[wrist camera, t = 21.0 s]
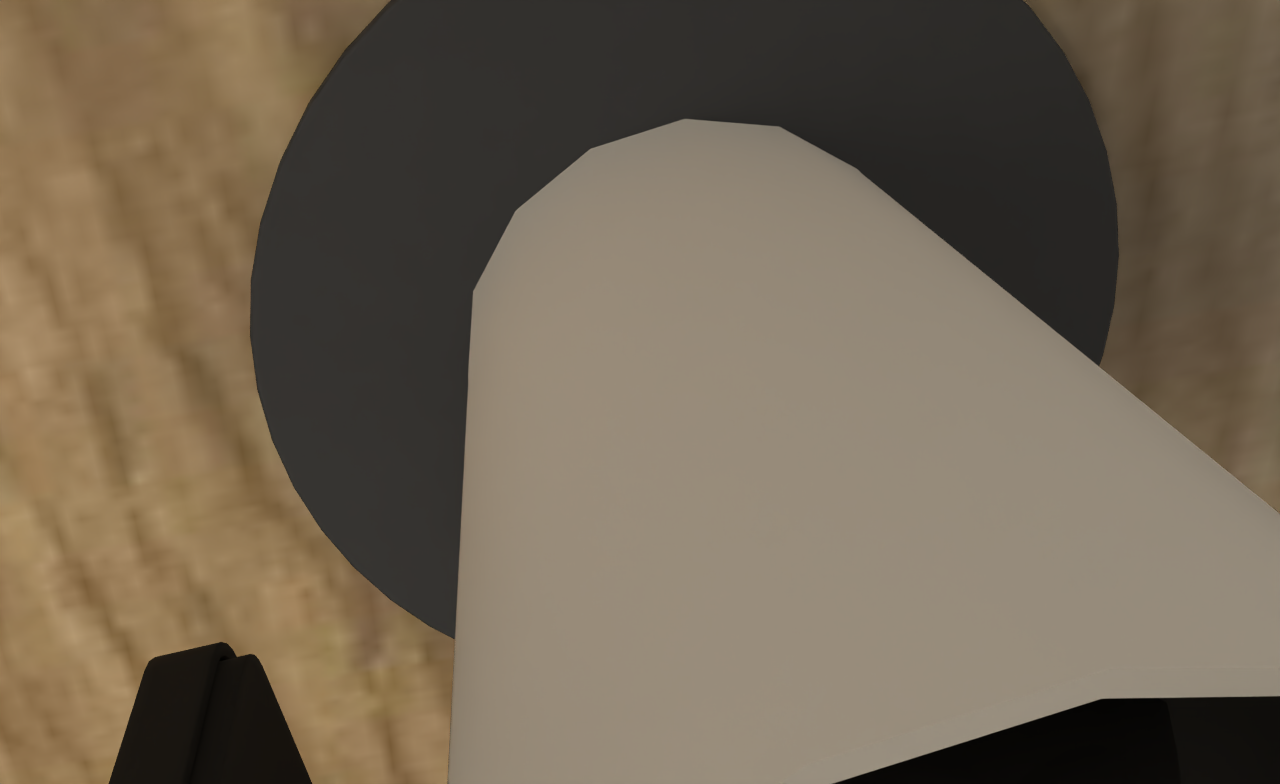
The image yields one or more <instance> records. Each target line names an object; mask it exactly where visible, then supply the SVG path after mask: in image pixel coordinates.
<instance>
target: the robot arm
mask: <svg viewBox="0 0 1280 784" xmlns="http://www.w3.org/2000/svg"><path fill="white" fill-rule="evenodd" d="M109 784H312V782H311V780H310V777H309V775H308V773H307V770H306V768H305V765H304V763H303V761H302V758H301V756H300V754H299V751H298V749H297V747H296V744H295V742H294V740H293V737H292V735H291V732H290V730H289V728H288V725H287V723H286V721H285V718H284V716H283V714H282V711H281V709H280V706H279V704H278V702H277V699H276V697H275V695H274V692H273V690H272V688H271V685H270V683H269V680H268V678H267V676H266V673H265V671H264V669H263V666H262V665H261V663H260V661H259V659H258V658H257V657H256V656H255V655H253V654H249V655H244V656H240V657H236V655H235V653H234V651H233V649H232V648H231V647H230V646H229V645H228V644H227V643H223V642H220V643H215V644H211V645H207V646H202V647H198V648H193V649H189V650H185V651H180V652H176V653H171V654H167V655H163V656H158V657H155V658H153V659H152V660H150V661H149V663H148V665H147V667H146V669H145V671H144V674H143V677H142V681H141V684H140V687H139V690H138V693H137V696H136V699H135V703H134V706H133V709H132V712H131V715H130V718H129V722H128V725H127V728H126V731H125V734H124V737H123V740H122V744H121V747H120V750H119V753H118V756H117V759H116V763H115V766H114V769H113V772H112V775H111V778H110V781H109Z"/></svg>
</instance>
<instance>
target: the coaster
mask: <svg viewBox="0 0 1280 784" xmlns="http://www.w3.org/2000/svg"><path fill="white" fill-rule="evenodd" d="M682 119H693V120H705V121H717V122H730V123H742V124H754V125H766V126H779V127H781V128H783V129H785V130H787V131H788V132H790V133H792V134H794V135H796V136H798V137H799V138H801V139H803V140H805V141H807V142H809V143H810V144H812V145H814V146H816V147H818V148H820V149H821V150H823V151H825V152H827V153H829V154H831V155H832V156H834V157H836V158H838V159H840V160H842V161H843V162H845V163H847V164H849V165H851V166H853V167H854V168H856V169H858V170H859V171H860V172H861V173H862V174H863V175H864V176H865V177H867V178H868V179H869V180H870V181H871V182H873V183H874V184H875V185H876V186H878V187H879V188H880V189H881V190H883V191H884V192H885V193H886V194H887V195H889V196H890V197H891V198H892V199H894V200H895V201H896V202H897V203H898V204H900V205H901V206H902V207H903V208H905V209H906V210H907V211H908V212H910V213H911V214H912V215H913V216H914V217H916V218H917V219H918V220H919V221H921V222H922V223H923V224H924V225H926V226H927V227H928V228H929V229H930V230H932V231H933V232H934V233H935V234H937V235H938V236H939V237H940V238H941V239H943V240H944V241H945V242H946V243H948V244H949V245H950V246H951V247H953V248H954V249H955V250H956V251H957V252H959V253H960V254H961V255H962V256H964V257H965V258H966V259H967V260H969V261H970V262H971V263H972V264H973V265H975V266H976V267H977V268H978V269H980V270H981V271H982V272H983V273H984V274H986V275H987V276H988V277H989V278H991V279H992V280H993V281H994V282H996V283H997V284H998V285H999V286H1000V287H1002V288H1003V289H1004V290H1005V291H1007V292H1008V293H1009V294H1010V295H1012V296H1013V297H1014V298H1015V299H1016V300H1018V301H1019V302H1020V303H1021V304H1023V305H1024V306H1025V307H1026V308H1028V309H1029V310H1030V311H1031V312H1032V313H1034V314H1035V315H1036V316H1037V317H1039V318H1040V319H1041V320H1042V321H1043V322H1045V323H1046V324H1047V325H1048V326H1050V327H1051V328H1052V329H1053V330H1055V331H1056V332H1057V333H1058V334H1059V335H1061V336H1062V337H1063V338H1064V339H1066V340H1067V341H1068V342H1069V343H1071V344H1072V345H1073V346H1074V347H1075V348H1077V349H1078V350H1079V351H1080V352H1082V353H1083V354H1084V355H1085V356H1086V357H1088V358H1089V359H1090V360H1091V361H1093V362H1094V363H1095V364H1096V365H1098V366H1099V365H1100V362H1101V359H1102V356H1103V353H1104V348H1105V344H1106V339H1107V335H1108V331H1109V326H1110V322H1111V317H1112V313H1113V308H1114V302H1115V291H1116V280H1117V269H1118V259H1119V248H1118V225H1117V203H1116V198H1115V193H1114V187H1113V182H1112V177H1111V171H1110V166H1109V161H1108V155H1107V151H1106V148H1105V145H1104V142H1103V139H1102V136H1101V133H1100V130H1099V127H1098V125H1097V122H1096V119H1095V116H1094V113H1093V110H1092V107H1091V104H1090V101H1089V99H1088V97H1087V96H1086V94H1085V92H1084V90H1083V88H1082V86H1081V84H1080V82H1079V80H1078V78H1077V77H1076V75H1075V73H1074V71H1073V69H1072V67H1071V65H1070V63H1069V61H1068V60H1067V58H1066V56H1065V54H1064V52H1063V51H1062V49H1061V48H1060V47H1059V45H1058V44H1057V43H1056V41H1055V40H1054V39H1053V37H1052V36H1051V35H1050V33H1049V32H1048V31H1047V29H1046V28H1045V27H1044V25H1043V24H1042V23H1041V21H1040V20H1039V19H1038V17H1037V16H1036V15H1035V13H1034V12H1033V11H1032V9H1031V8H1030V7H1029V6H1028V5H1027V4H1026V3H1025V2H1024V1H1023V0H391V1H390V2H389V3H388V4H387V5H386V6H385V7H384V8H383V9H382V10H381V11H380V12H379V14H378V15H377V16H376V17H375V18H374V19H373V20H372V21H371V22H370V23H369V24H368V26H367V27H366V28H365V29H364V30H363V31H362V32H361V33H360V34H359V35H358V36H357V38H356V39H355V40H354V41H353V42H352V43H351V44H350V45H349V46H348V47H347V48H346V50H345V51H344V52H343V54H342V55H341V57H340V58H339V59H338V61H337V62H336V64H335V65H334V67H333V68H332V70H331V71H330V73H329V74H328V75H327V77H326V78H325V80H324V81H323V83H322V84H321V86H320V87H319V89H318V90H317V92H316V93H315V94H314V96H313V97H312V99H311V100H310V102H309V103H308V105H307V108H306V110H305V112H304V114H303V116H302V118H301V120H300V122H299V124H298V126H297V128H296V130H295V132H294V134H293V136H292V138H291V140H290V142H289V144H288V146H287V148H286V150H285V152H284V154H283V156H282V159H281V161H280V164H279V167H278V170H277V173H276V176H275V179H274V182H273V185H272V188H271V191H270V195H269V198H268V201H267V204H266V207H265V210H264V213H263V216H262V219H261V222H260V228H259V234H258V240H257V247H256V253H255V259H254V265H253V271H252V277H251V314H250V338H251V346H252V353H253V360H254V368H255V375H256V382H257V390H258V393H259V397H260V400H261V403H262V407H263V410H264V414H265V417H266V421H267V424H268V427H269V431H270V434H271V438H272V441H273V443H274V445H275V447H276V449H277V452H278V454H279V456H280V458H281V460H282V463H283V465H284V467H285V469H286V471H287V474H288V476H289V478H290V480H291V482H292V484H293V487H294V488H295V490H296V491H297V493H298V494H299V496H300V497H301V499H302V501H303V502H304V504H305V505H306V507H307V508H308V510H309V511H310V513H311V515H312V516H313V518H314V519H315V521H316V522H317V524H318V525H319V527H320V528H321V530H322V531H323V532H324V533H325V535H326V536H327V537H328V538H329V539H330V540H331V541H332V543H333V544H334V545H335V546H336V547H337V548H338V550H339V551H340V552H341V553H342V554H343V555H344V557H345V558H346V559H347V560H348V561H349V562H350V564H351V565H352V566H353V567H354V568H355V569H356V570H357V571H359V572H360V573H361V574H362V575H363V576H364V577H365V578H366V579H368V580H369V581H370V582H371V583H372V584H373V585H374V586H375V587H377V588H378V589H379V590H380V591H381V592H382V593H383V594H385V595H386V596H387V597H388V598H389V599H390V600H392V601H393V602H395V603H396V604H398V605H399V606H400V607H402V608H403V609H405V610H406V611H408V612H409V613H411V614H412V615H414V616H415V617H417V618H418V619H420V620H421V621H423V622H424V623H426V624H427V625H428V626H430V627H432V628H434V629H436V630H438V631H440V632H442V633H444V634H446V635H447V636H449V637H451V638H453V639H455V629H456V609H457V590H458V571H459V552H460V532H461V513H462V494H463V475H464V455H465V436H466V417H467V397H468V368H469V351H470V335H471V319H472V302H473V291H474V289H475V287H476V285H477V283H478V281H479V279H480V277H481V276H482V274H483V272H484V270H485V268H486V266H487V264H488V262H489V260H490V258H491V257H492V255H493V253H494V251H495V249H496V247H497V245H498V243H499V241H500V239H501V238H502V236H503V234H504V232H505V230H506V228H507V226H508V224H509V222H510V220H511V219H512V217H513V215H514V213H515V211H516V210H517V209H518V208H519V207H521V206H522V205H523V204H524V203H525V202H527V201H528V200H529V199H530V198H532V197H533V196H534V195H535V194H536V193H538V192H539V191H540V190H541V189H542V188H544V187H545V186H546V185H547V184H548V183H550V182H551V181H552V180H553V179H555V178H556V177H557V176H558V175H559V174H561V173H562V172H563V171H564V170H565V169H567V168H568V167H569V166H570V165H571V164H573V163H574V162H575V161H576V160H578V159H579V158H580V157H581V156H582V155H584V154H585V153H586V152H587V151H588V150H590V149H591V148H595V147H598V146H601V145H604V144H607V143H610V142H613V141H616V140H620V139H623V138H626V137H629V136H632V135H635V134H638V133H642V132H645V131H648V130H651V129H654V128H657V127H660V126H663V125H667V124H670V123H673V122H676V121H679V120H682Z"/></svg>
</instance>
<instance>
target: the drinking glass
mask: <svg viewBox="0 0 1280 784" xmlns="http://www.w3.org/2000/svg"><path fill="white" fill-rule="evenodd" d="M447 784H1280V514H1279V513H1278V512H1277V511H1276V510H1274V509H1273V508H1272V507H1271V506H1270V505H1268V504H1267V503H1266V502H1265V501H1263V500H1262V499H1261V498H1260V497H1259V496H1257V495H1256V494H1255V493H1254V492H1252V491H1251V490H1250V489H1249V488H1247V487H1246V486H1245V485H1244V484H1243V483H1241V482H1240V481H1239V480H1238V479H1236V478H1235V477H1234V476H1233V475H1231V474H1230V473H1229V472H1228V471H1227V470H1225V469H1224V468H1223V467H1222V466H1220V465H1219V464H1218V463H1217V462H1216V461H1214V460H1213V459H1212V458H1211V457H1209V456H1208V455H1207V454H1206V453H1204V452H1203V451H1202V450H1201V449H1200V448H1198V447H1197V446H1196V445H1195V444H1193V443H1192V442H1191V441H1190V440H1188V439H1187V438H1186V437H1185V436H1184V435H1182V434H1181V433H1180V432H1179V431H1177V430H1176V429H1175V428H1174V427H1172V426H1171V425H1170V424H1169V423H1168V422H1166V421H1165V420H1164V419H1163V418H1161V417H1160V416H1159V415H1158V414H1157V413H1155V412H1154V411H1153V410H1152V409H1150V408H1149V407H1148V406H1147V405H1145V404H1144V403H1143V402H1142V401H1141V400H1139V399H1138V398H1137V397H1136V396H1134V395H1133V394H1132V393H1131V392H1129V391H1128V390H1127V389H1126V388H1125V387H1123V386H1122V385H1121V384H1120V383H1118V382H1117V381H1116V380H1115V379H1114V378H1112V377H1111V376H1110V375H1109V374H1107V373H1106V372H1105V371H1104V370H1102V369H1101V368H1100V367H1099V366H1098V365H1096V364H1095V363H1094V362H1093V361H1091V360H1090V359H1089V358H1088V357H1086V356H1085V355H1084V354H1083V353H1082V352H1080V351H1079V350H1078V349H1077V348H1075V347H1074V346H1073V345H1072V344H1071V343H1069V342H1068V341H1067V340H1066V339H1064V338H1063V337H1062V336H1061V335H1059V334H1058V333H1057V332H1056V331H1055V330H1053V329H1052V328H1051V327H1050V326H1048V325H1047V324H1046V323H1045V322H1043V321H1042V320H1041V319H1040V318H1039V317H1037V316H1036V315H1035V314H1034V313H1032V312H1031V311H1030V310H1029V309H1028V308H1026V307H1025V306H1024V305H1023V304H1021V303H1020V302H1019V301H1018V300H1016V299H1015V298H1014V297H1013V296H1012V295H1010V294H1009V293H1008V292H1007V291H1005V290H1004V289H1003V288H1002V287H1000V286H999V285H998V284H997V283H996V282H994V281H993V280H992V279H991V278H989V277H988V276H987V275H986V274H984V273H983V272H982V271H981V270H980V269H978V268H977V267H976V266H975V265H973V264H972V263H971V262H970V261H969V260H967V259H966V258H965V257H964V256H962V255H961V254H960V253H959V252H957V251H956V250H955V249H954V248H953V247H951V246H950V245H949V244H948V243H946V242H945V241H944V240H943V239H941V238H940V237H939V236H938V235H937V234H935V233H934V232H933V231H932V230H930V229H929V228H928V227H927V226H926V225H924V224H923V223H922V222H921V221H919V220H918V219H917V218H916V217H914V216H913V215H912V214H911V213H910V212H908V211H907V210H906V209H905V208H903V207H902V206H901V205H900V204H898V203H897V202H896V201H895V200H894V199H892V198H891V197H890V196H889V195H887V194H886V193H885V192H884V191H883V190H881V189H880V188H879V187H878V186H876V185H875V184H874V183H873V182H871V181H870V180H869V179H868V178H867V177H865V176H864V175H863V174H862V173H861V172H860V171H859V170H858V169H856V168H854V167H853V166H851V165H849V164H847V163H845V162H843V161H842V160H840V159H838V158H836V157H834V156H832V155H831V154H829V153H827V152H825V151H823V150H821V149H820V148H818V147H816V146H814V145H812V144H810V143H809V142H807V141H805V140H803V139H801V138H799V137H798V136H796V135H794V134H792V133H790V132H788V131H787V130H785V129H783V128H781V127H779V126H766V125H754V124H742V123H730V122H717V121H705V120H693V119H682V120H679V121H676V122H673V123H670V124H667V125H663V126H660V127H657V128H654V129H651V130H648V131H645V132H642V133H638V134H635V135H632V136H629V137H626V138H623V139H620V140H616V141H613V142H610V143H607V144H604V145H601V146H598V147H595V148H591V149H590V150H588V151H587V152H586V153H585V154H584V155H582V156H581V157H580V158H579V159H578V160H576V161H575V162H574V163H573V164H571V165H570V166H569V167H568V168H567V169H565V170H564V171H563V172H562V173H561V174H559V175H558V176H557V177H556V178H555V179H553V180H552V181H551V182H550V183H548V184H547V185H546V186H545V187H544V188H542V189H541V190H540V191H539V192H538V193H536V194H535V195H534V196H533V197H532V198H530V199H529V200H528V201H527V202H525V203H524V204H523V205H522V206H521V207H519V208H518V209H517V210H516V211H515V213H514V215H513V217H512V219H511V220H510V222H509V224H508V226H507V228H506V230H505V232H504V234H503V236H502V238H501V239H500V241H499V243H498V245H497V247H496V249H495V251H494V253H493V255H492V257H491V258H490V260H489V262H488V264H487V266H486V268H485V270H484V272H483V274H482V276H481V277H480V279H479V281H478V283H477V285H476V287H475V289H474V291H473V302H472V319H471V335H470V351H469V368H468V397H467V417H466V436H465V455H464V475H463V494H462V513H461V532H460V552H459V571H458V590H457V609H456V629H455V648H454V667H453V686H452V706H451V725H450V744H449V764H448V783H447Z"/></svg>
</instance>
